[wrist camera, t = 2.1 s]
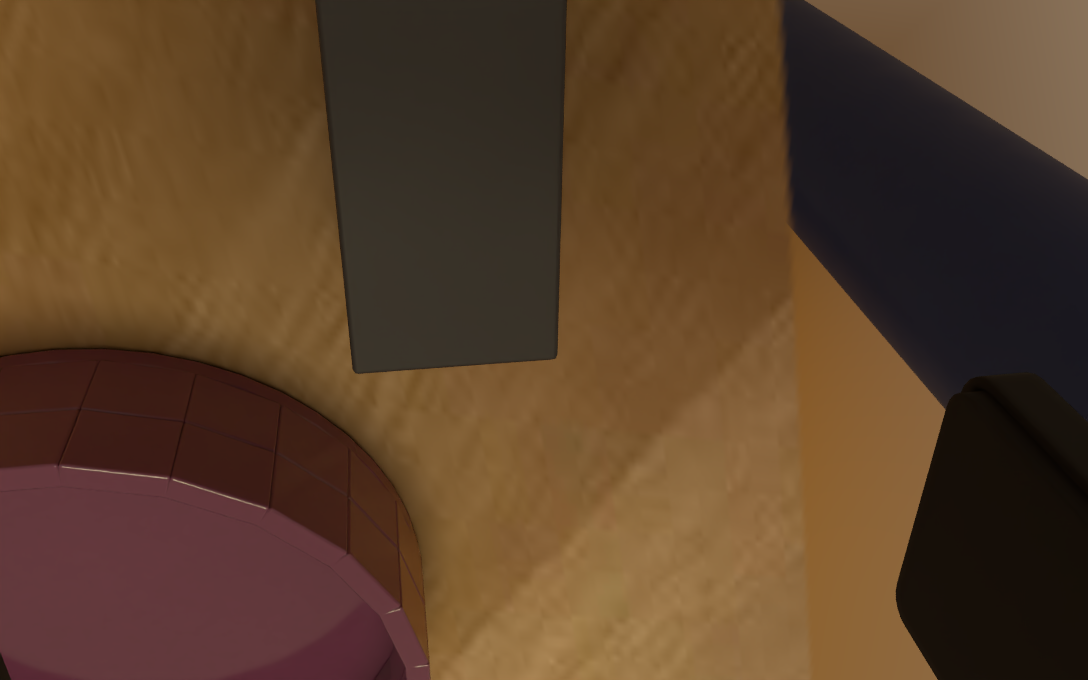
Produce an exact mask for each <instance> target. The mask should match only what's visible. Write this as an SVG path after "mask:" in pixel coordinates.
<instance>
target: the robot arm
mask: <svg viewBox="0 0 1088 680" xmlns="http://www.w3.org/2000/svg"><path fill="white" fill-rule="evenodd" d="M896 602H897V607H898V611H899V614H900V617H901V619H902V621H903V623H904V625H905V627H906V628H907V630H908V632H909V633H910V635H911V636H912V638H913V640H914V641H915V643H916V645H917V646H918V648H919V650H920V651H921V653H922V654H923V656H924V658H925V659H926V661H927V663H928V664H929V666H930V668H931V669H932V671H933V672H934V674H935V676H936V677H937V679H938V680H1088V422H1087V421H1086V420H1085V419H1084V418H1083V417H1082V416H1081V415H1080V414H1079V413H1078V412H1076V411H1075V410H1074V409H1073V408H1072V407H1071V406H1070V405H1069V404H1068V403H1067V402H1066V401H1065V400H1064V399H1063V398H1062V397H1061V396H1060V395H1059V394H1058V393H1057V392H1056V391H1055V390H1054V389H1053V388H1051V387H1050V386H1049V385H1048V384H1047V383H1046V382H1045V381H1044V380H1043V379H1042V378H1040V377H1039V376H1037V375H1036V374H1033V373H1027V372H1025V373H1014V374H1003V375H991V376H980V377H975V378H972V379H970V380H969V381H968V382H967V383H966V384H965V385H964V387H963V389H962V392H961V393H958V394H955V395H953V397H952V398H951V399H950V400H949V402H948V405H947V407H946V411H945V415H944V418H943V422H942V425H941V429H940V433H939V436H938V440H937V443H936V447H935V450H934V454H933V458H932V461H931V464H930V468H929V472H928V475H927V479H926V482H925V486H924V490H923V493H922V496H921V500H920V504H919V507H918V511H917V514H916V518H915V521H914V525H913V529H912V532H911V536H910V540H909V543H908V546H907V550H906V553H905V557H904V561H903V564H902V568H901V571H900V575H899V579H898V582H897V587H896ZM0 680H11V678H10V675H9V673H8V670H7V668H6V665H5V663H4V660H3V658H2V655H1V653H0Z"/></svg>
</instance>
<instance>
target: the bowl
mask: <svg viewBox="0 0 1088 680" xmlns="http://www.w3.org/2000/svg"><path fill="white" fill-rule="evenodd" d="M0 653H1V655H2V658H3V660H4V663H5V665H6V668H7V670H8V673H9V675H10V678H11V680H431V678H430V663H429V650H428V637H427V624H426V612H425V599H424V586H423V573H422V560H421V555H420V552H419V547H418V541H417V538H416V535H415V532H414V529H413V526H412V523H411V520H410V518H409V515H408V512H407V511H406V509H405V507H404V505H403V503H402V501H401V500H400V498H399V496H398V494H397V492H396V490H395V489H394V487H393V485H392V484H391V483H390V481H389V480H388V479H387V478H386V476H385V475H384V474H383V472H382V471H381V470H380V468H379V467H378V466H377V465H376V463H375V462H374V461H373V459H372V458H370V457H369V456H368V455H367V454H366V453H365V452H364V451H363V450H362V449H361V448H360V447H359V446H358V445H357V444H356V443H355V442H354V441H353V440H352V439H351V438H350V437H349V436H348V435H347V434H345V433H344V432H343V431H341V430H340V429H339V428H337V427H336V426H335V425H333V424H332V423H331V422H329V421H328V420H327V419H325V418H324V417H323V416H321V415H320V414H318V413H317V412H316V411H314V410H312V409H310V408H309V407H307V406H305V405H303V404H302V403H300V402H298V401H296V400H294V399H293V398H291V397H289V396H287V395H286V394H284V393H282V392H280V391H278V390H276V389H273V388H271V387H268V386H266V385H264V384H261V383H259V382H257V381H254V380H252V379H250V378H247V377H245V376H243V375H240V374H237V373H233V372H230V371H227V370H223V369H220V368H217V367H214V366H210V365H207V364H204V363H200V362H196V361H191V360H186V359H181V358H176V357H171V356H165V355H160V354H155V353H147V352H136V351H124V350H113V349H58V350H49V351H41V352H33V353H24V354H16V355H9V356H5V357H1V358H0Z"/></svg>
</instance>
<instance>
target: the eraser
mask: <svg viewBox="0 0 1088 680" xmlns="http://www.w3.org/2000/svg"><path fill="white" fill-rule="evenodd" d="M315 3H316V13H317V23H318V33H319V42H320V52H321V62H322V72H323V82H324V91H325V101H326V111H327V121H328V131H329V141H330V150H331V160H332V170H333V180H334V190H335V200H336V209H337V219H338V229H339V239H340V249H341V259H342V268H343V278H344V288H345V298H346V308H347V317H348V327H349V337H350V347H351V357H352V367H353V370H354V372H355V373H357V374H361V373H374V372H388V371H401V370H415V369H428V368H442V367H455V366H469V365H483V364H496V363H510V362H523V361H537V360H550V359H555V358H556V356H557V350H558V313H559V275H560V238H561V200H562V163H563V125H564V88H565V50H566V13H567V0H315Z"/></svg>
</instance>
